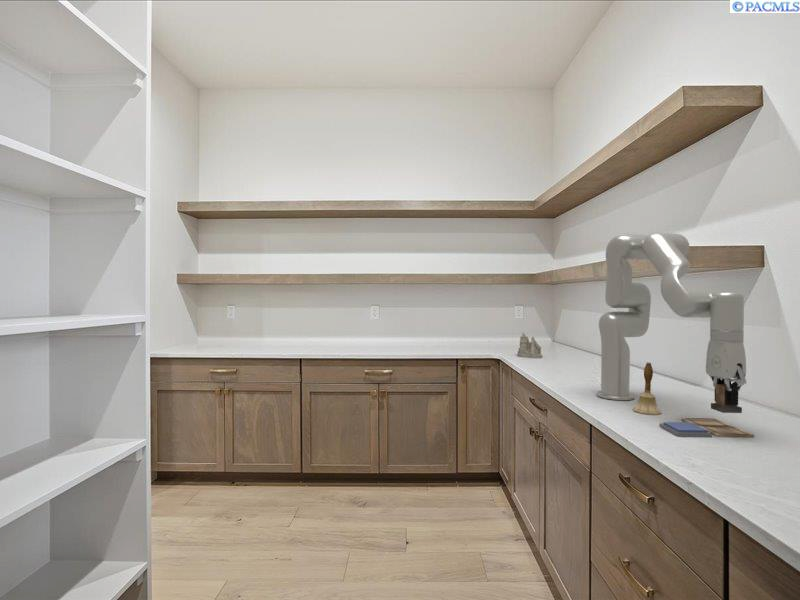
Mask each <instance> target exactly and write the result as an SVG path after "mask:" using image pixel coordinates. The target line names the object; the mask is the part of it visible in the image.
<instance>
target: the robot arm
mask: <svg viewBox="0 0 800 600" xmlns="http://www.w3.org/2000/svg"><path fill="white" fill-rule="evenodd" d="M689 252H690V243H689V240H688V239H687V238H686V236H685V235H682V234H679V233H673V232H672V233H669V232H655V233H651V234H648V235H643V234H621V235H620V234H619V235H617V236H614V237H612V238H611V240H609V241H608V243H607V246H606V249H605V262H606V263H605V264H606V277H605V278H606V280H605V295H604V297H605V299H604V300H605V303H606V305H607V306H609V307H610V308H614V309H628V311H609V312H605V313H603V314H602V315H601V316H600V318H599V320H598V329H599V334H600V342H601V346H600V347H601V353H600V354H601V356H600V357H601V360H600V367H601V368H600V369H601V370H600V372H601V373H600V375H601V376H600V390H597V391H596V392H595V394H596V396H597V397H599V398H601V399H607V400H613V401H631V400H634V399H635V395H634V394H633V393H630V380H631V379H630V378H631V377H630V375H631V374H630V372H631V371H630V368H631V365H630V362H631V360H630V359H631V355H630V354H631V351H630V347H629V344H628V342H627V341H626V338H639V337H642V336H644V335H645V334H646V333H647V331H648V329H649V327H650V315H651V304H652V299H651V298H652V295H651V291H650V289H649V287H648V286H647V285H646V284H644V283H642V282H633V268H632V266H631V263H630V262H629V261H628V260H649V262H650V263H651V264H652V265H653V266H654V268H655V269H656V271H657V272H658V273H659V275H660V276H661V280H660V294H661V296H662V299H664V301H665V302H666V304H667V305H668V307H669V308H670V309H671V310H672V311H673V313H674V314H675V315H677V316H679V317H682V318H701V319H702V318H708V319H709V321H710V322H709V324H710V325H709V331H710V332H709V334H710V335H709V337H710V338H709V341H708V344H707V350H706V359H705V373H706V374H707V375H708V376H709V377H710V378H711V381H712V386H713V387H714V399H715V398H716V384H726V385H727V390H725V405H730V406H739V392H740V390H741V387H742V386H744V385H746V384H747V379H746V376H747V359H746V358H747V357H746V350H745V349H746V348H745V343H744V341H745V340H744V337H745V336H744V334H745V333H744V331H745V330H744V329H745V327H744V323H745V321H744V319H745V318H744V317H745V316H744V314H745V310H744V309H745V300H744V299H745V297H744V295H743V294H742V293H740V292H733V291H731V292H730V291H727V292H725V291H724V292H723V291H722V292H716V291H715V292H713V291H688V290H687V289H686V288H685V286H683V284H682V282H681V281H680V279H682V278H683V277H684V276H686V275H687V274H688V272H689V271H690V268H691V263H690V261H689V260H688V259H687V258H686V255H688V253H689Z"/></svg>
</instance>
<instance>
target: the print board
mask: <svg viewBox="0 0 800 600" xmlns="http://www.w3.org/2000/svg"><path fill="white" fill-rule="evenodd" d="M680 421H681V422H690V423H693V424H695V425H697V426H699V427H701V428H704V429H706V430H708V432H710V433H712V436H714V437H717V438H718V437H719V438H720V437H723V438H724V437H725V438H727V437H728V438H729V437H730V438H731V437H732V438H733V437H734V438H740V437H741V438H755V434H754V433H752V432H751V433H750V432H748V431H745V430H744V429H741V428H739V427H736V426H733V425H731V424H728V423H726V422H724V421H722V420H718V419H717V418H711V417H710V418H708V417H705V418H704V417H701V418H698V417H697V418H695V417H694V418H693V417H692V418H691V417H690V418H689V417H684V418H682V417H681V418H680Z"/></svg>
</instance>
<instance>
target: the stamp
mask: <svg viewBox="0 0 800 600" xmlns="http://www.w3.org/2000/svg"><path fill="white" fill-rule="evenodd" d="M725 390H727V385H726V384H716V398H715V397H714V402H711V403H710V409H711V410H715V411H717V412H720V413H723V414H742V413H743V407H741V406H739V405H737V406H730V405H725Z"/></svg>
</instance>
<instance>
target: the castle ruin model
mask: <svg viewBox="0 0 800 600" xmlns="http://www.w3.org/2000/svg"><path fill="white" fill-rule="evenodd" d="M519 337H520V339H519V348H518V351H517V357H518V358H524V359H525V358H526V359H542V358H543V354H542V351H541V349H542V347H541V346H540V345H539V344H538V343H537V341H536V339H535V337H534V336H531V338H530V341H529V336H526V334H525V333H524V332H522V335H521V336H519Z"/></svg>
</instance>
